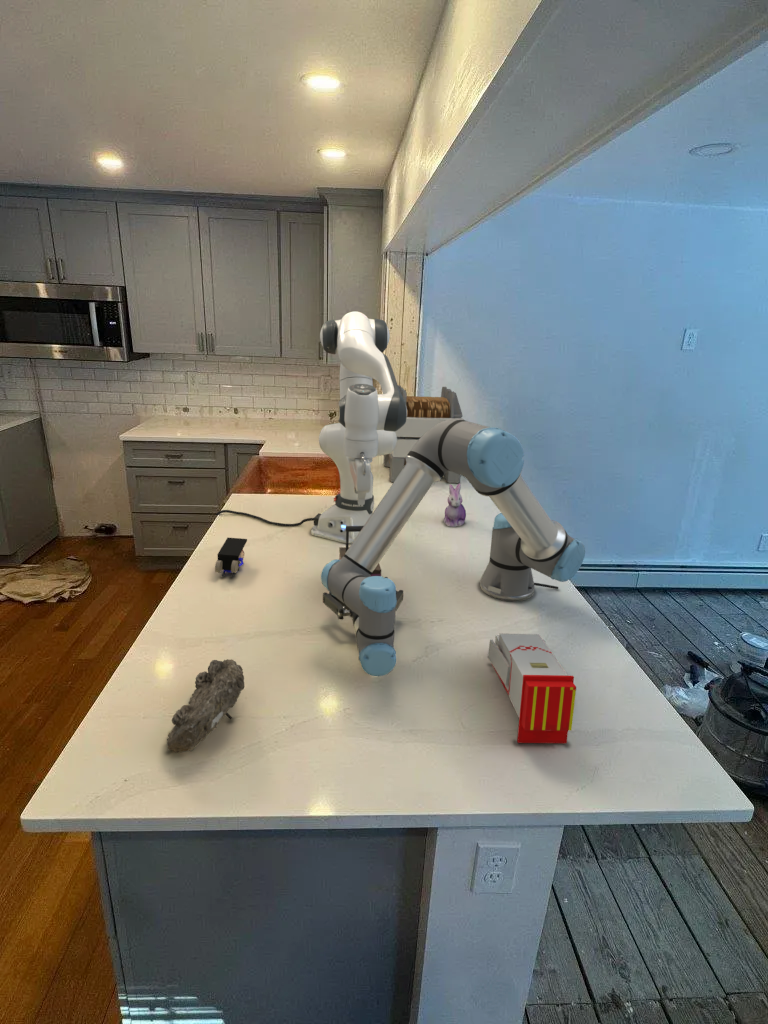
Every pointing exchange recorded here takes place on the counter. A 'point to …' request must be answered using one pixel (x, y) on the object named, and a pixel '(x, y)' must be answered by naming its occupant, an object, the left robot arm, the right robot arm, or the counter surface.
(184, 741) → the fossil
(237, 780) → the counter surface
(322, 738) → the counter surface
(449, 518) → the figurine
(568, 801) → the counter surface
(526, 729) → the toy
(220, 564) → the black toy vehicle
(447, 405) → the transformer
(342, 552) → the lid
